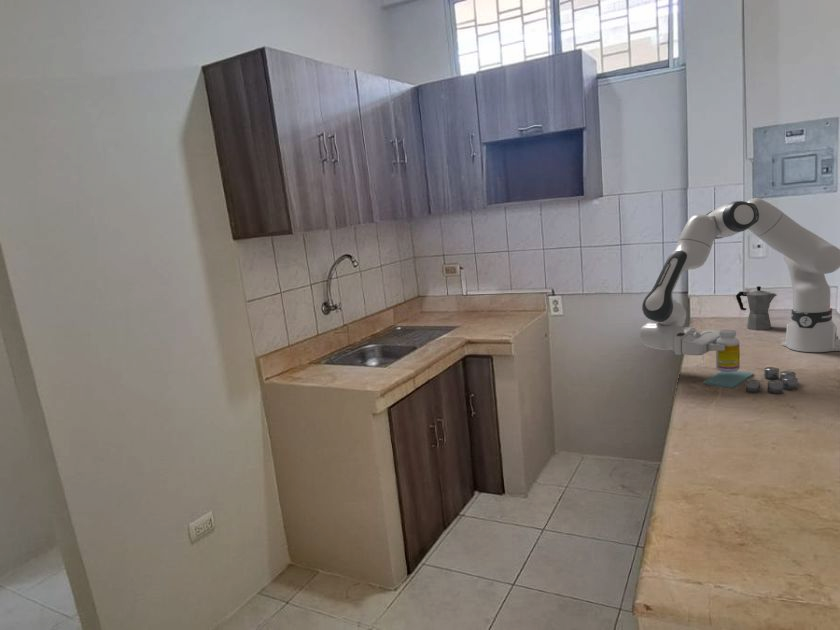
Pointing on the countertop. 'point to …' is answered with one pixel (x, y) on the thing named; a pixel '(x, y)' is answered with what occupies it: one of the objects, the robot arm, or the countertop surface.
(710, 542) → the countertop surface
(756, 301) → the coffeepot
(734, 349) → the supplement bottle
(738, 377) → the mat
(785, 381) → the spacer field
